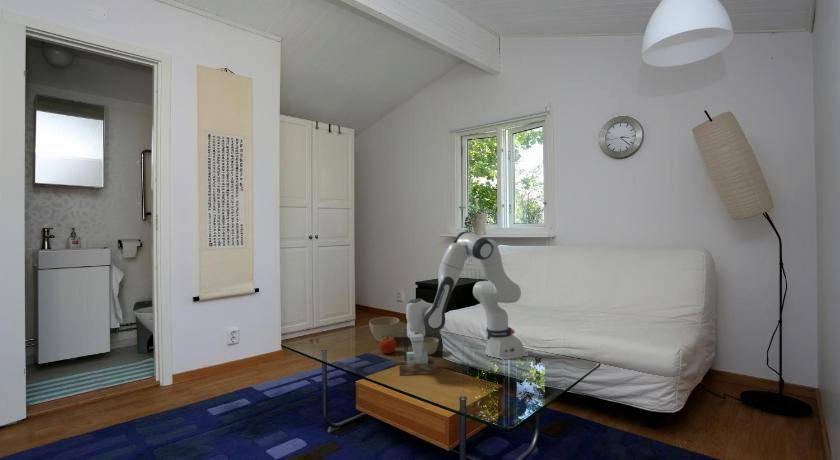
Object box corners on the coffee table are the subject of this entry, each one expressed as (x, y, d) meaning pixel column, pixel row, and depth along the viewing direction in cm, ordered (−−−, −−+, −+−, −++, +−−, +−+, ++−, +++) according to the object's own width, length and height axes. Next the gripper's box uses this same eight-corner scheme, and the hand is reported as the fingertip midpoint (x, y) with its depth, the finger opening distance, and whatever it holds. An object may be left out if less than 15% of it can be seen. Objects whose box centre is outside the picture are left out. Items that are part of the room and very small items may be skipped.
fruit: (399, 353, 243) (398, 335, 243) (382, 356, 240) (381, 338, 239) (393, 348, 252) (392, 331, 251) (377, 351, 249) (376, 333, 248)
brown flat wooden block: (435, 366, 222) (434, 358, 222) (436, 372, 214) (436, 364, 214) (399, 368, 221) (399, 360, 221) (399, 375, 213) (399, 367, 213)
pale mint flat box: (427, 366, 220) (426, 350, 220) (428, 368, 217) (427, 352, 216) (407, 368, 219) (406, 352, 219) (407, 370, 216) (406, 353, 216)
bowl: (437, 356, 236) (437, 343, 236) (419, 356, 238) (418, 343, 238) (440, 350, 246) (440, 337, 246) (422, 349, 248) (422, 337, 248)
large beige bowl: (366, 339, 271) (365, 319, 270) (393, 334, 279) (392, 315, 278) (376, 347, 255) (374, 327, 254) (404, 342, 262) (403, 322, 261)
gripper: (408, 326, 227) (410, 352, 228) (410, 338, 206) (411, 367, 207) (421, 325, 227) (422, 352, 228) (423, 338, 207) (425, 367, 208)
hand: (417, 359), depth 217 cm, fingers open, 4 cm apart
